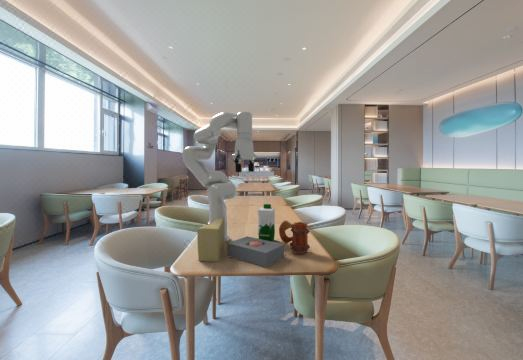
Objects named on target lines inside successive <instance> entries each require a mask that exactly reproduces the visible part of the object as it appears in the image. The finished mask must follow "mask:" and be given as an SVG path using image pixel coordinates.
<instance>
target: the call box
mask: <svg viewBox="0 0 523 360" xmlns="http://www.w3.org/2000/svg"><path fill="white" fill-rule="evenodd" d="M252 241H260V242H262V245H261V246H258V247H254V246H250V245H249V242H252ZM226 243H227V246H226V249H227V254H226V256H227V257H230V258H234V259H236V260H239V261H244V262H246V263H250V264H254V265H257V266H260V267H263V268H267V267H270V266H271V265H273V264H275V263H277V262H278V261H280V260H282V259H284V258H285V243H279V242H275V241H273V242H271V241H266V240H262V239H259V238H256V237H252V236H248V235H247V236H243V237H242V238H239V239H235V240H232V241H230V242H229V241H228V242H226Z"/></svg>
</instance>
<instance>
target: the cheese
mask: <svg viewBox="0 0 523 360" xmlns="http://www.w3.org/2000/svg"><path fill="white" fill-rule="evenodd" d="M196 234H197V256H198V257H197V258H198V261H200V262H210V263H211V262H212V263H213V262H214V263H216V262H217V263H218V262H219V261H220V258H221V254H222V252H223V250H224V248H225V244H226V242H225V236H224V219H223V218H219V219H217V220H215V221H214V222H212V223H210V222H209V224H206V225H203V226H200V227H198V228H197V233H196Z"/></svg>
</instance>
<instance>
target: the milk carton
mask: <svg viewBox="0 0 523 360" xmlns="http://www.w3.org/2000/svg"><path fill="white" fill-rule="evenodd" d="M275 209H276V208H275V207H272V204H270V203H263V207H260V208H259V209H257V218H258V219H257V220H258V221H257V227H258V228H257V230H258V231H257V235H258V239H262V240H266V241H271V242H275V235H276V234H275V233H276V214H275V213H276V212H275V211H276V210H275Z"/></svg>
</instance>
